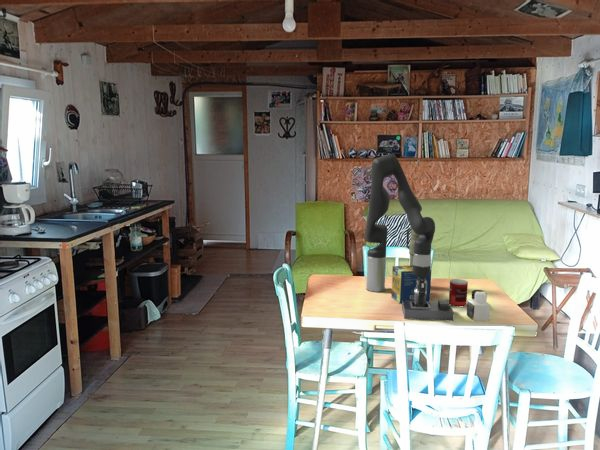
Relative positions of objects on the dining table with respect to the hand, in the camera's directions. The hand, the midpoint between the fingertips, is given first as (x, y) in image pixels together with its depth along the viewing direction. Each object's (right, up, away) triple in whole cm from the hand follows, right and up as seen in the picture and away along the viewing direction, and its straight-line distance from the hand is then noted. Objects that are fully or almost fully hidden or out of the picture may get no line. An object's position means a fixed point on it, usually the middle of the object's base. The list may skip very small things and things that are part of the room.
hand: (420, 302), depth 223 cm
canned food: (+21, -4, +15) cm, 26 cm away
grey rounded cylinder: (0, -4, +1) cm, 4 cm away
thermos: (+8, +1, +44) cm, 44 cm away
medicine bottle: (+24, -7, -4) cm, 25 cm away
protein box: (+1, -2, +22) cm, 22 cm away
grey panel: (+3, -5, 0) cm, 6 cm away
